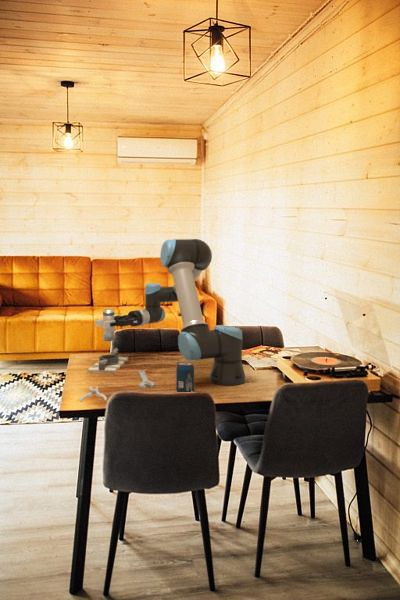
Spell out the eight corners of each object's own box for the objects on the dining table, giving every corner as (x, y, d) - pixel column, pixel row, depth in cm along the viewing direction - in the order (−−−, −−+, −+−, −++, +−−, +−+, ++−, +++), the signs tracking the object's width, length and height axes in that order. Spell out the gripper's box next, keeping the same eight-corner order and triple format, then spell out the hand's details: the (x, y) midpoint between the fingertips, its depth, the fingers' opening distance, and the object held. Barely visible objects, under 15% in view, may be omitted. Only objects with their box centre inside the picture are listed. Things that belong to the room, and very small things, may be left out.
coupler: (112, 341, 261) (112, 311, 259) (101, 341, 262) (101, 310, 260) (116, 339, 266) (115, 309, 264) (105, 338, 267) (104, 308, 265)
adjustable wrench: (137, 373, 255) (137, 369, 254) (152, 373, 256) (152, 369, 255) (139, 390, 230) (139, 385, 230) (155, 389, 231) (155, 385, 231)
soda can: (181, 389, 231) (182, 360, 229) (197, 392, 227) (197, 362, 226) (172, 394, 225) (173, 364, 223) (188, 396, 221) (188, 366, 220)
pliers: (79, 398, 214) (81, 386, 229) (79, 402, 214) (81, 390, 229) (106, 397, 216) (106, 385, 230) (106, 401, 216) (106, 389, 230)
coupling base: (113, 373, 252) (113, 361, 251) (87, 372, 254) (87, 360, 253) (128, 358, 278) (128, 348, 277) (104, 357, 279) (104, 347, 278)
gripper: (151, 328, 271) (112, 335, 254) (125, 323, 283) (87, 329, 265) (151, 312, 270) (112, 318, 252) (125, 307, 281) (86, 313, 264)
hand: (99, 324), depth 259 cm, fingers closed on coupler, 5 cm apart
